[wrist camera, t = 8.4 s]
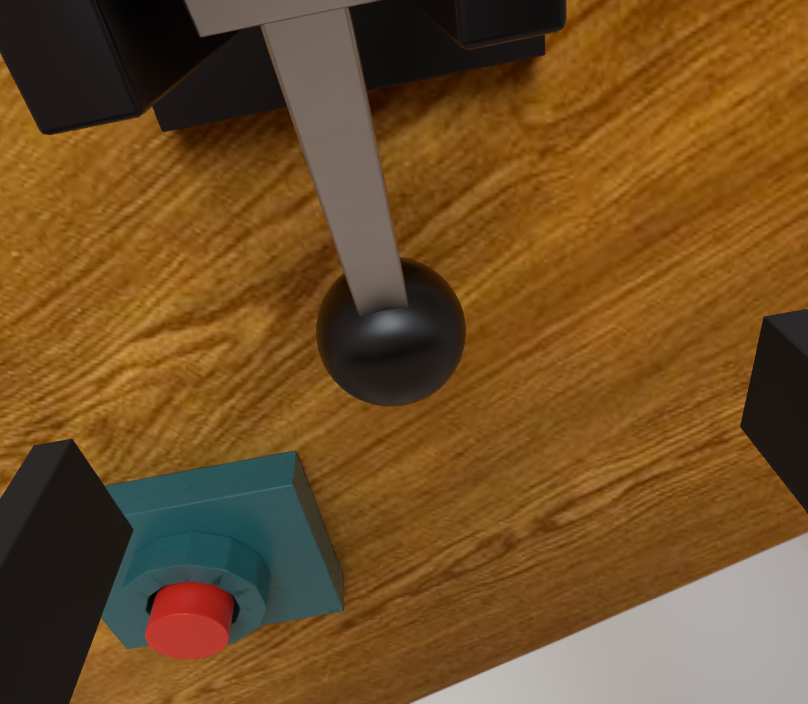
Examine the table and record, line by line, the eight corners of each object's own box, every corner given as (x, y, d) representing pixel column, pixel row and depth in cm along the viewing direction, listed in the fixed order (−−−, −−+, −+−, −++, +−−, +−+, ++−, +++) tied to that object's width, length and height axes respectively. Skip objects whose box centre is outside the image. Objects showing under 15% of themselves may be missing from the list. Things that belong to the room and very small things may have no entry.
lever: (453, 298, 17) (480, 414, 15) (328, 322, 17) (340, 440, 15) (389, -520, 5) (472, -429, 4) (2, -430, 5) (-104, -301, 4)
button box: (296, 450, 28) (289, 517, 25) (344, 575, 34) (344, 644, 30) (49, 495, 28) (10, 568, 25) (138, 612, 34) (116, 684, 31)
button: (219, 572, 27) (212, 608, 26) (244, 616, 29) (239, 651, 28) (142, 586, 27) (130, 622, 26) (172, 629, 29) (164, 665, 28)
